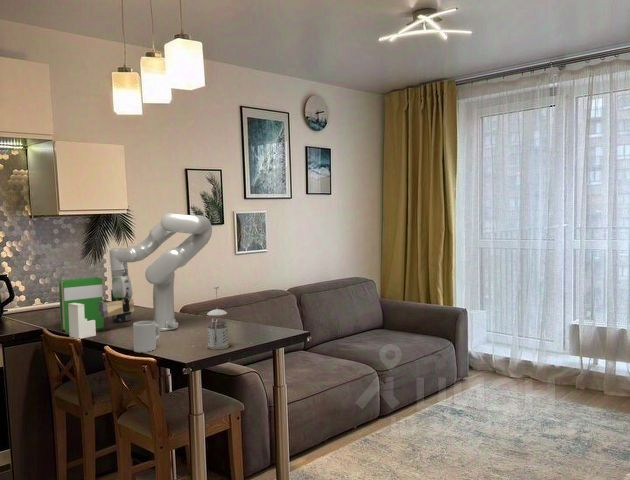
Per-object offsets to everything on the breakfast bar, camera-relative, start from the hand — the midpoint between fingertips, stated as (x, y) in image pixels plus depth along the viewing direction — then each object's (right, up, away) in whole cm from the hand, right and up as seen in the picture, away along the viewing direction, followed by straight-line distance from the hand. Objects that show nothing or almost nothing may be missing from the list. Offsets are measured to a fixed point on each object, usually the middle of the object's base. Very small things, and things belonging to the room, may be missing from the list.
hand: (123, 311), depth 259 cm
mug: (+25, -10, -41) cm, 49 cm away
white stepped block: (-14, -9, -16) cm, 23 cm away
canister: (-8, -8, +20) cm, 23 cm away
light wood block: (-2, -1, -3) cm, 4 cm away
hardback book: (-20, -9, +2) cm, 22 cm away
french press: (+52, -9, -41) cm, 67 cm away
